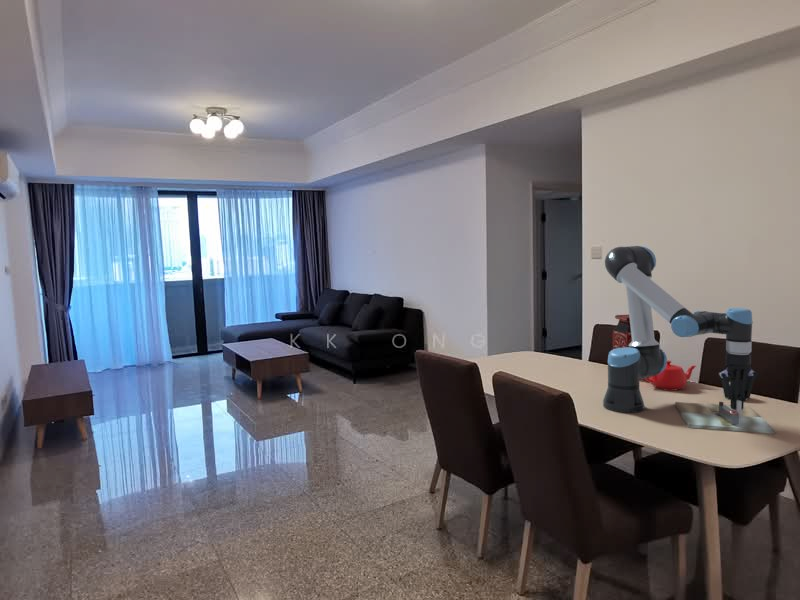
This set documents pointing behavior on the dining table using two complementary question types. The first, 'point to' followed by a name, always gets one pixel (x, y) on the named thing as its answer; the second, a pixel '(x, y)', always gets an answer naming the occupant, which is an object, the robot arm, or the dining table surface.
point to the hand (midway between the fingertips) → (736, 417)
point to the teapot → (671, 377)
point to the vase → (622, 332)
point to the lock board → (721, 418)
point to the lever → (729, 414)
